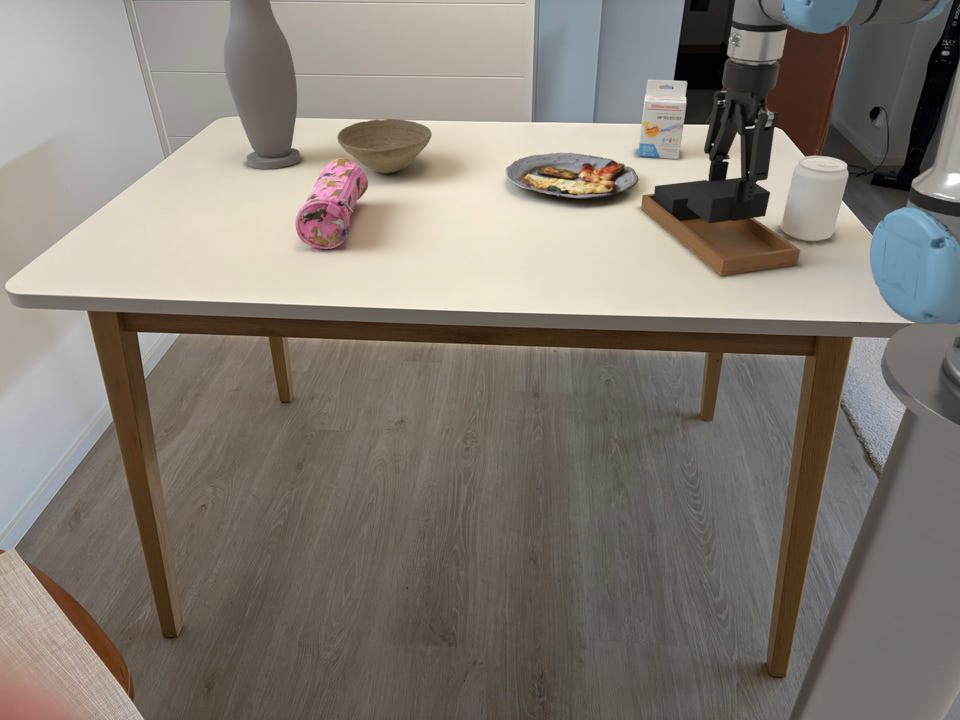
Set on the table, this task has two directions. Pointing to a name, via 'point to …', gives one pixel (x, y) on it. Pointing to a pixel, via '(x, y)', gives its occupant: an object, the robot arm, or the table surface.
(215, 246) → the table surface
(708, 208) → the black pad
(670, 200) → the pad
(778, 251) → the tray
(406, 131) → the bowl
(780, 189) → the table surface
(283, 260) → the table surface
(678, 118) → the ink box
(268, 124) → the vase
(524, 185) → the food plate
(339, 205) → the pencil case
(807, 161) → the beverage can
